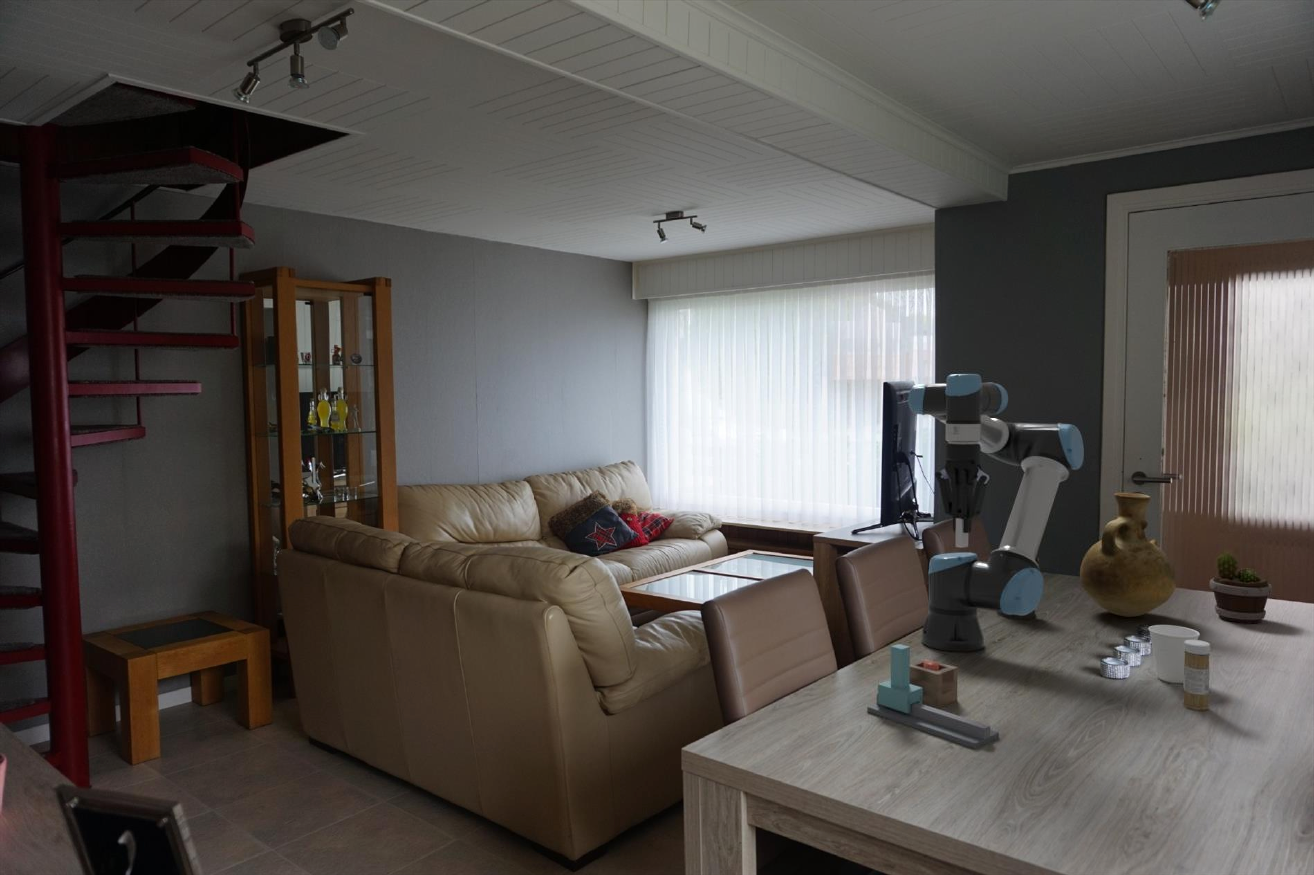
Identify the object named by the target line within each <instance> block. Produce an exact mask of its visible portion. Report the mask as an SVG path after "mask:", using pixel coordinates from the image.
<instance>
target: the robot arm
mask: <svg viewBox="0 0 1314 875" xmlns="http://www.w3.org/2000/svg"><path fill="white" fill-rule="evenodd" d="M945 382H946V383H928V382H926V383H919V384H918V383H917V384H914V385H912V387H911V388H910V390H909V392H908V397H907V403H908V407H909V410H910V411H911V413H913V414H915V415H920V416H921V415H922V416H925V415H927V416H928V415H929V416H931V417H932V418H935V419H936V420H938V421H940V422H941V423H943V424H944V425H945V441H946V442H947V443H946V444H945V451H944V454H945V456H944V457H945V461H946V462H945V464H944V468H943V469H942V470H940V471H936V472H935V473H934V474H935V478H936V479H937V481H938V485H939V489H940V495H941V499H942V504H943V510H944V513H945V514H946V515H949V516H951V517H952V531H953V532H955V547H956V548H960V549H962V548H969V534H970V533H972V521H973V518H975V517H979V516H980V515H981V513H982V512H981V511H982V507H983V503H984V500H985V495H986V491H987V486H988V484H990V481H991V480H992V476H991V475H990V474H987V473H985V472H984V471H982V466H981V464H980V462H981V458H982V456H981V453H984V454H986V455H987V456H989V457H991V458H994V460H995V459H996V460H998V461H1000V462H1003V463H1005V464H1008V465H1012V466H1017V467H1021V469H1022V470H1023V476H1022V479H1021V481H1020V486H1019V489H1018V490H1017V494H1016V497H1015V500H1014V503H1013V506H1012V509H1011V512H1010V515H1009V517H1010V518H1009V517H1008V519H1009V521H1008V520H1007V523H1006V526H1005V530H1004V533H1003V536H1002V538H1001V540H1002V541H1001V540H1000V542H1001V544H1000V543H999V545H1000V547H999V546H998V548H999V549H998V548H996V549H994V550H992V551H991V552H990V553H989V557H988V559H987V561H981V560H978V559H979V557H978V555H977V553H974V552H948V553H941V554H936V555H934V556H933V557H931V558H930V560H929V564H928V572H927V573H928V574H927V575H928V613H927V616H926V619H925V622H924V623H923V624H924V625H923V627H922V630H921V635H920V636H921V639H920V640H921V643H922V644H923V645H925V646H927V647H929V648H933V649H934V650H935V649H936V650H939V651H940V650H941V651H947V652H957V653H959V652H960V653H962V652H966V653H967V652H974V651H975V652H976V651H980V650H981V649H983V648H984V647H985V641H984V640H985V639H984V634H983V631H982V627H981V625H980V624H981V623H980V622H979V618H978V613H977V612H978V611H977V610H978V609H980V610H986V611H991V612H1001V613H1005V614H1008V615H1012V614H1014V615H1027V614H1028V613H1031V612H1032V611H1033V610H1035V609H1036V608H1037V607H1038V605H1039V603H1040V601H1041V599H1042V595H1043V592H1044V588H1043V587H1044V584H1045V583H1044V576H1043V574H1042V572H1041V571H1040V566H1039V564H1037V563H1036V561H1035V558H1037V557H1036V555H1037V556H1038V551H1039V548H1040V545H1041V541H1042V539H1043V536H1044V533H1045V530H1046V526H1047V523H1048V520H1049V516H1050V513H1051V510H1052V508H1053V504H1054V500H1055V498H1056V494H1057V492H1058V489H1059V485H1060V483H1061V482H1064V481H1066V480H1067V479H1068V478H1069V475H1070V473H1071V470H1073V471H1076V470H1079V469H1081V467H1082V466H1083V463H1084V457H1085V453H1084V452H1085V450H1084V448H1085V447H1084V442H1083V437H1082V434H1081V432H1080V429H1078V427H1077V426H1075V425H1074V424H1069V423H1062V422H1058V423H1035V422H1027V423H1026V422H1006V421H1003V420H1001V419H999V418H991V416H994V415H998V414H1000V413H1002V412H1003V411H1004V410H1005V409H1006V408H1007V406H1008V402H1009V396H1008V395H1009V394H1008V392H1007V390H1006V389H1005V388H1004V387H1003V386H1002V385H1001V384H999V383H994V382H982V377H981V375H980V374H977V373H957V374H949V375H948V376H947V377H946V381H945ZM975 481H977V482H976V483H975Z"/></svg>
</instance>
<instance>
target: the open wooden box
mask: <svg viewBox="0 0 1314 875" xmlns="http://www.w3.org/2000/svg"><path fill="white" fill-rule="evenodd" d="M926 661H933V662H937V663H938V664H939V671H933V670H929V669H926V668H924V662H926ZM958 669H959V668H958V667H957V666H953V665H950V664H945V663H942V662H939V661H935V660H931V659H927V658H922V659H919V660H917V661H914V662H913V661H912V662H910V684H912V685H915V686H918V687H922V688H923V698H922V704H923V705H926V706H929V707H933V708H936V709H940V708H942V707H944V706H947V705H949V704H952V703H954V702H957V701H958V677H959V676H958V671H959V670H958Z"/></svg>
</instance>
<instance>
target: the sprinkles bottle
mask: <svg viewBox="0 0 1314 875" xmlns="http://www.w3.org/2000/svg"><path fill="white" fill-rule="evenodd" d="M1184 650H1185V663H1184V683H1183V687H1182V688H1183V701H1182V705H1183V706H1184V707H1185V708H1188V709H1190V710H1194V711H1207V710H1208V709H1209V691H1210V655H1211V644H1210V643H1209V642H1206V641H1204V640H1199V639H1198V640H1186V641H1184Z"/></svg>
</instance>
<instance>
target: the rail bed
mask: <svg viewBox="0 0 1314 875" xmlns="http://www.w3.org/2000/svg"><path fill="white" fill-rule="evenodd" d="M866 711H867V713H870V714H873V715H877V716H879V717H882V718H885V719H888V720H890V721H893V722H897V723H899V724H902V725H905V726H908V727H911V728H914V729H917V730H919V731H921V732H925V733H927V734H928V733H929V734H931V735H934V736H937V737H939V738H942V739H945V740H948V741H951V742H954V743H957V744H960V745H963V746H966V747H968V748H971V749H974V750H976V749H978V748H980V747H982V746H984V745H986V744H989V743H991V742H994V741H995V740H998V739H999V738H1000V732H998V731H996V730H992V729H991V725H989V724H985V723H982V722H979V721H976V720H973V719H971V718H966V717H964V716H960V715H958V714H955V713H951V712H948V711H945V710H942V709H940V708H935V707H932V706H929V705H926V704H923V703H922V704H920V703H917V702H915V703H912V704H910V713H905V712H902V711H899V710H896V709H893V708H890V707H887V706H884V705H881V704H878V692H877V693H876V703H874V704H870V705H869V706H867V709H866Z"/></svg>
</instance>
